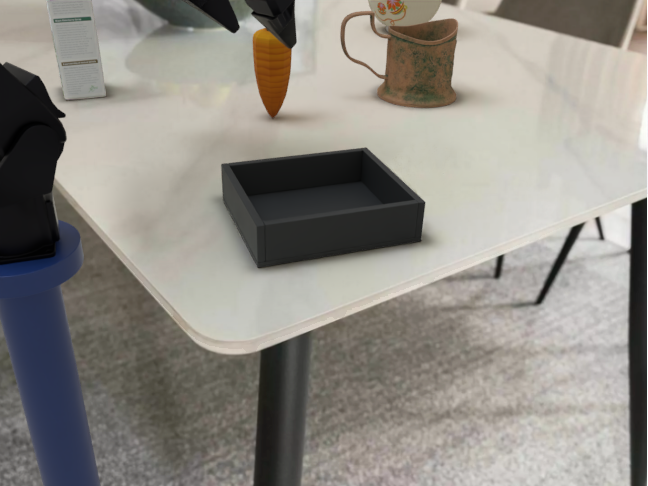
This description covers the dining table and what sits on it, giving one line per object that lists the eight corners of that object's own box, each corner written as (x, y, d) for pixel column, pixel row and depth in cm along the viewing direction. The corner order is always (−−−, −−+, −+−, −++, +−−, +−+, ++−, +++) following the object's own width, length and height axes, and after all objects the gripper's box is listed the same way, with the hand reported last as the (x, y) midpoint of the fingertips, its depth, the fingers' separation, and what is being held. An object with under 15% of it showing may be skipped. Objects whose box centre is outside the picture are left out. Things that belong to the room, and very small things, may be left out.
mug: (328, 87, 102) (331, 4, 96) (437, 81, 106) (446, 1, 100) (350, 112, 92) (354, 21, 86) (469, 105, 96) (481, 17, 90)
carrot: (276, 108, 93) (276, -7, 85) (299, 118, 90) (300, 0, 82) (246, 115, 90) (243, -3, 83) (268, 126, 87) (266, 4, 79)
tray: (257, 268, 57) (256, 226, 55) (222, 200, 68) (220, 163, 66) (421, 241, 62) (425, 201, 60) (364, 182, 73) (366, 147, 71)
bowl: (345, 29, 136) (347, -24, 131) (398, 19, 146) (402, -31, 141) (405, 45, 126) (410, -12, 121) (458, 33, 136) (464, -20, 131)
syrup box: (107, 97, 95) (92, -13, 88) (63, 100, 93) (44, -11, 86) (102, 85, 100) (88, -20, 93) (60, 88, 98) (42, -18, 90)
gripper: (317, -142, 60) (370, 2, 72) (188, -147, 71) (252, -22, 83) (238, -61, 57) (307, 75, 69) (116, -79, 68) (193, 41, 80)
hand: (263, 38), depth 75 cm, fingers open, 9 cm apart
